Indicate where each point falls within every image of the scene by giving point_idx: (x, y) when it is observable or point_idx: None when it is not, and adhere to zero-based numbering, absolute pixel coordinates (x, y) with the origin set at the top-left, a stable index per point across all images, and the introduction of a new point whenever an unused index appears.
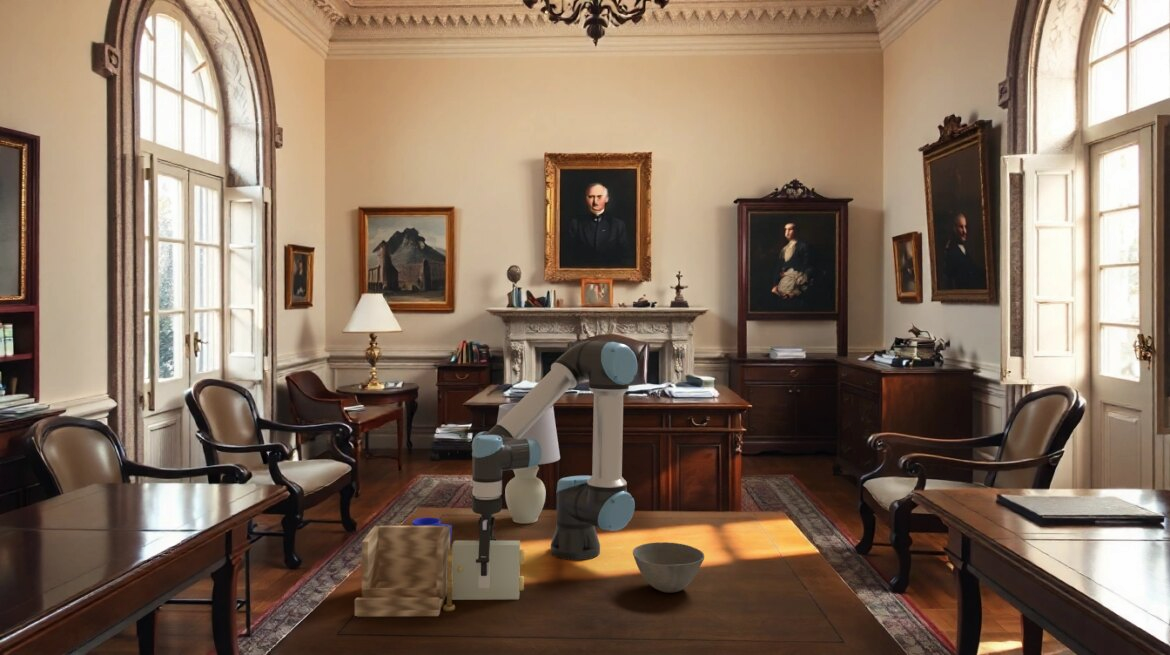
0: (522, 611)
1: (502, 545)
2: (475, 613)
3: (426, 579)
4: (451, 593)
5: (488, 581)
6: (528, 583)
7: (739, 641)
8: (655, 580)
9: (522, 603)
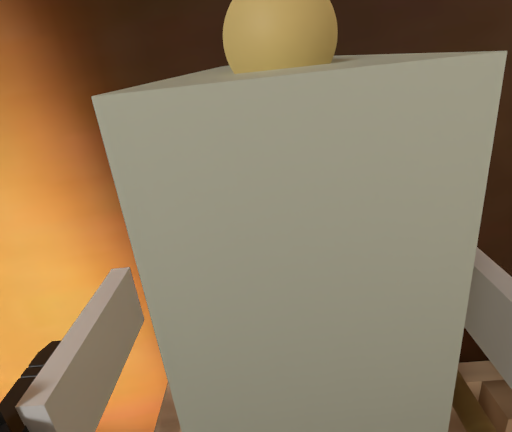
0: (499, 3)
1: (450, 381)
2: (486, 240)
3: None
4: (465, 387)
5: (489, 264)
6: (48, 32)
7: None
8: None
9: (375, 22)
